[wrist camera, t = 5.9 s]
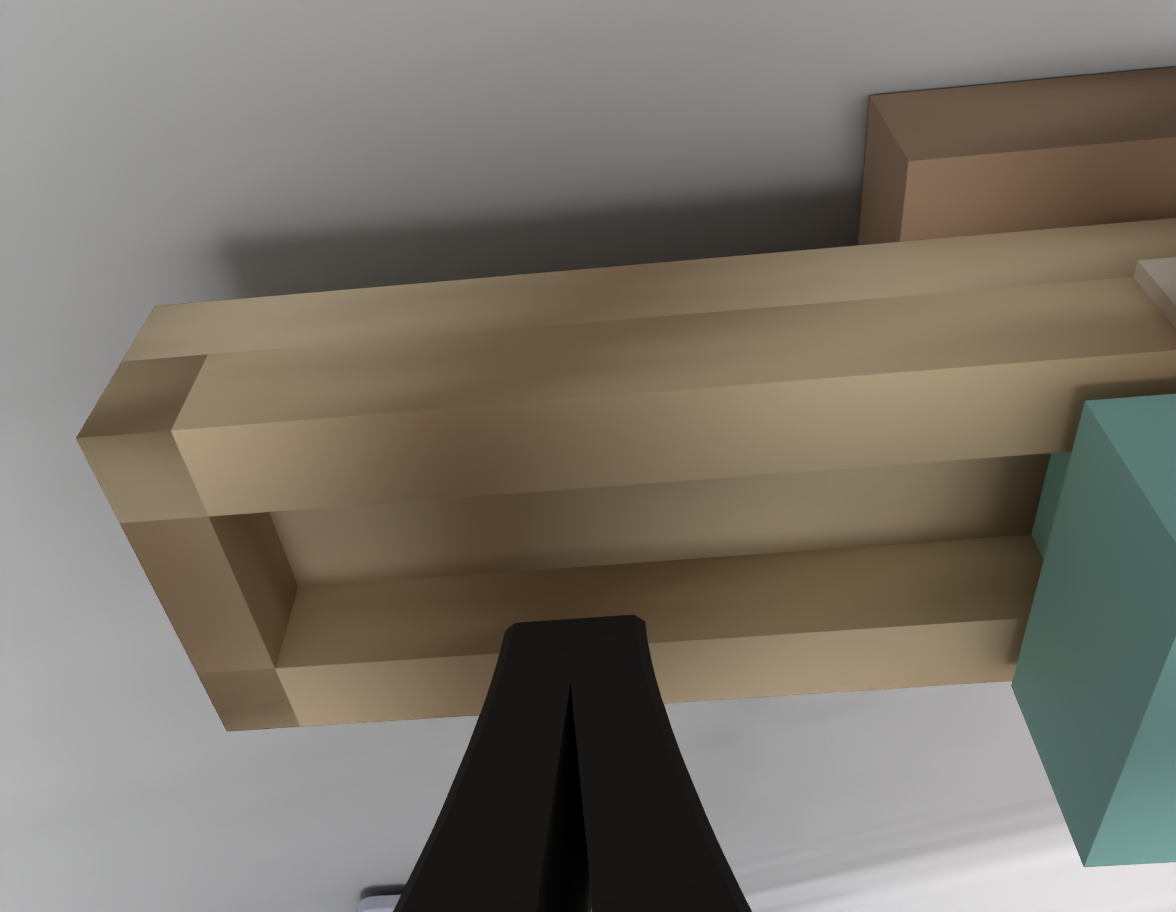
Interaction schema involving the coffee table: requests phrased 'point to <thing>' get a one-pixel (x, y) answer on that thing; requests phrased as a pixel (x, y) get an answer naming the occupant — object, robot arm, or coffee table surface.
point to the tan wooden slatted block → (665, 434)
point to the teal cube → (1108, 632)
